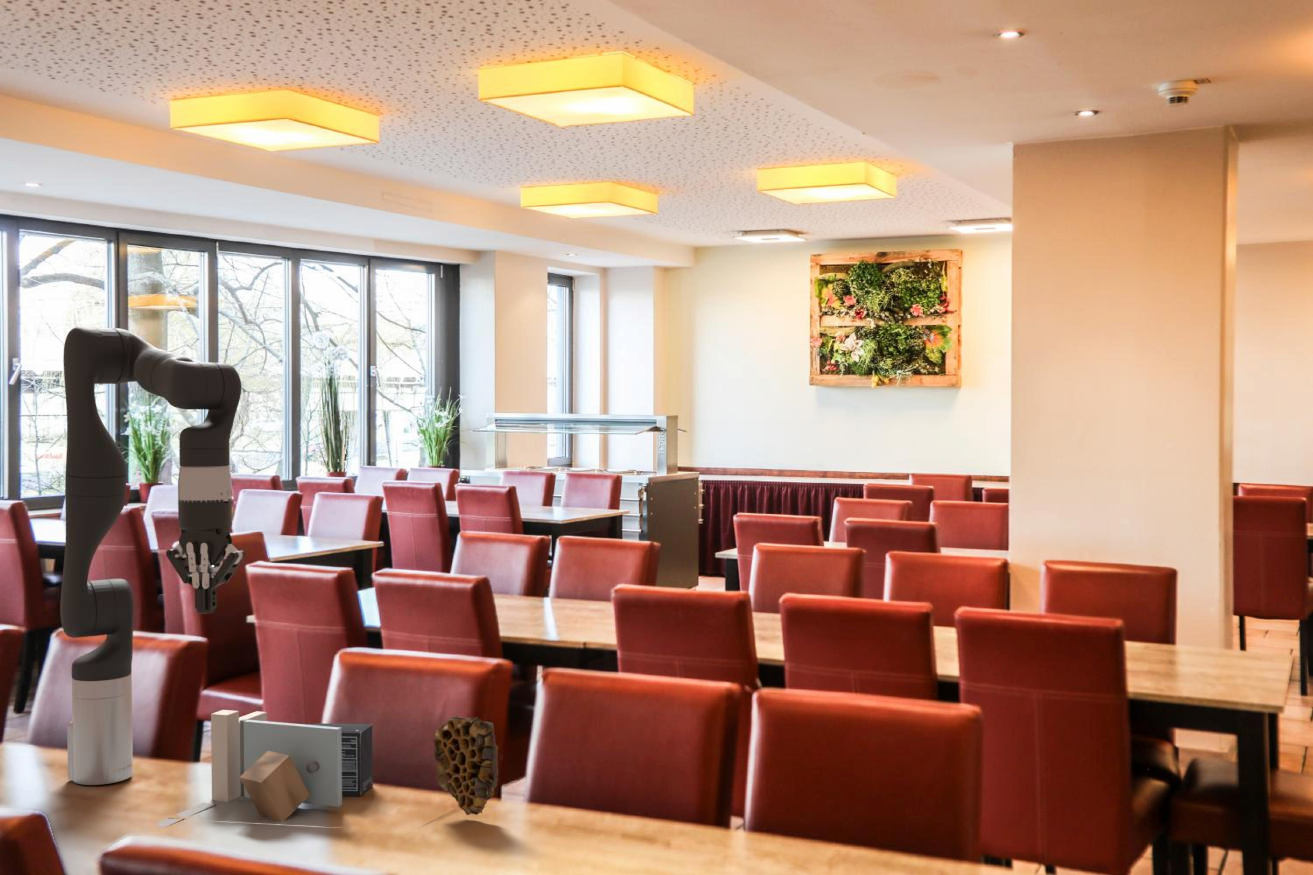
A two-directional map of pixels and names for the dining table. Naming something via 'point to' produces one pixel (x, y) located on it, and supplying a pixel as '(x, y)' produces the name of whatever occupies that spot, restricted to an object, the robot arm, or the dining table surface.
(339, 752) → the door
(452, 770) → the brown wasp nest
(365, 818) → the dining table surface
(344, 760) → the small box
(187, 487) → the robot arm
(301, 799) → the block
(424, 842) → the dining table surface
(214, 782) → the door frame
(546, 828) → the dining table surface
